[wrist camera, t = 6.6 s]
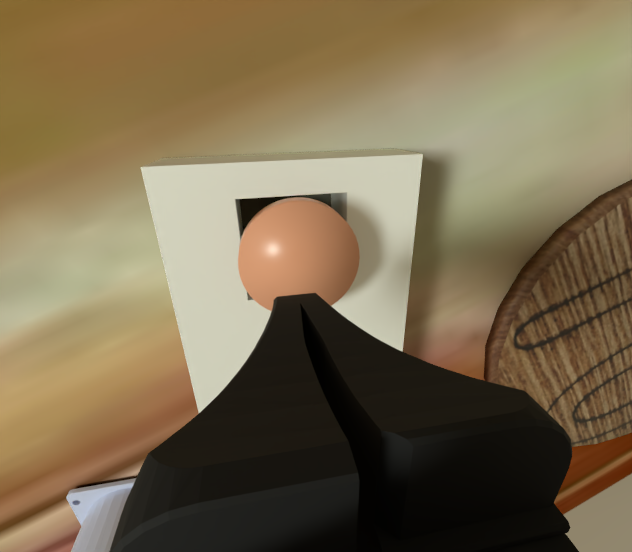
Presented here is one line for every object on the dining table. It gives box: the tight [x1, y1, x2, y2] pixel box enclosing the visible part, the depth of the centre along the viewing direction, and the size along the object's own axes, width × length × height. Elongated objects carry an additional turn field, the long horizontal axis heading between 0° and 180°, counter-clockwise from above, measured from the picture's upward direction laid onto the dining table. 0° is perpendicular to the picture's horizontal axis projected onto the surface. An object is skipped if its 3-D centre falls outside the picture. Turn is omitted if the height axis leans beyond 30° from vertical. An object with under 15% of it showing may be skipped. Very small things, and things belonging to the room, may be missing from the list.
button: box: [238, 197, 360, 311], centre depth 16 cm, size 5×5×4 cm
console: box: [141, 149, 423, 413], centre depth 20 cm, size 20×12×4 cm, turn 1°
